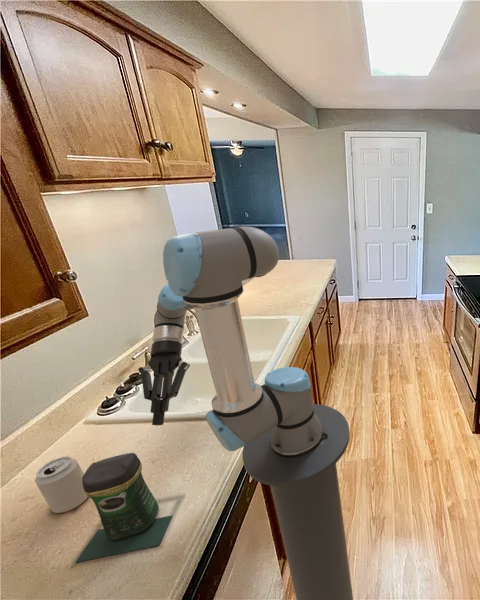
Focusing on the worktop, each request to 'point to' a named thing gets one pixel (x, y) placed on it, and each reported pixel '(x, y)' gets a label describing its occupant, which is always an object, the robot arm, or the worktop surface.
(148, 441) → the worktop surface
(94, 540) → the mat
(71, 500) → the can
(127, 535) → the coffee jar
